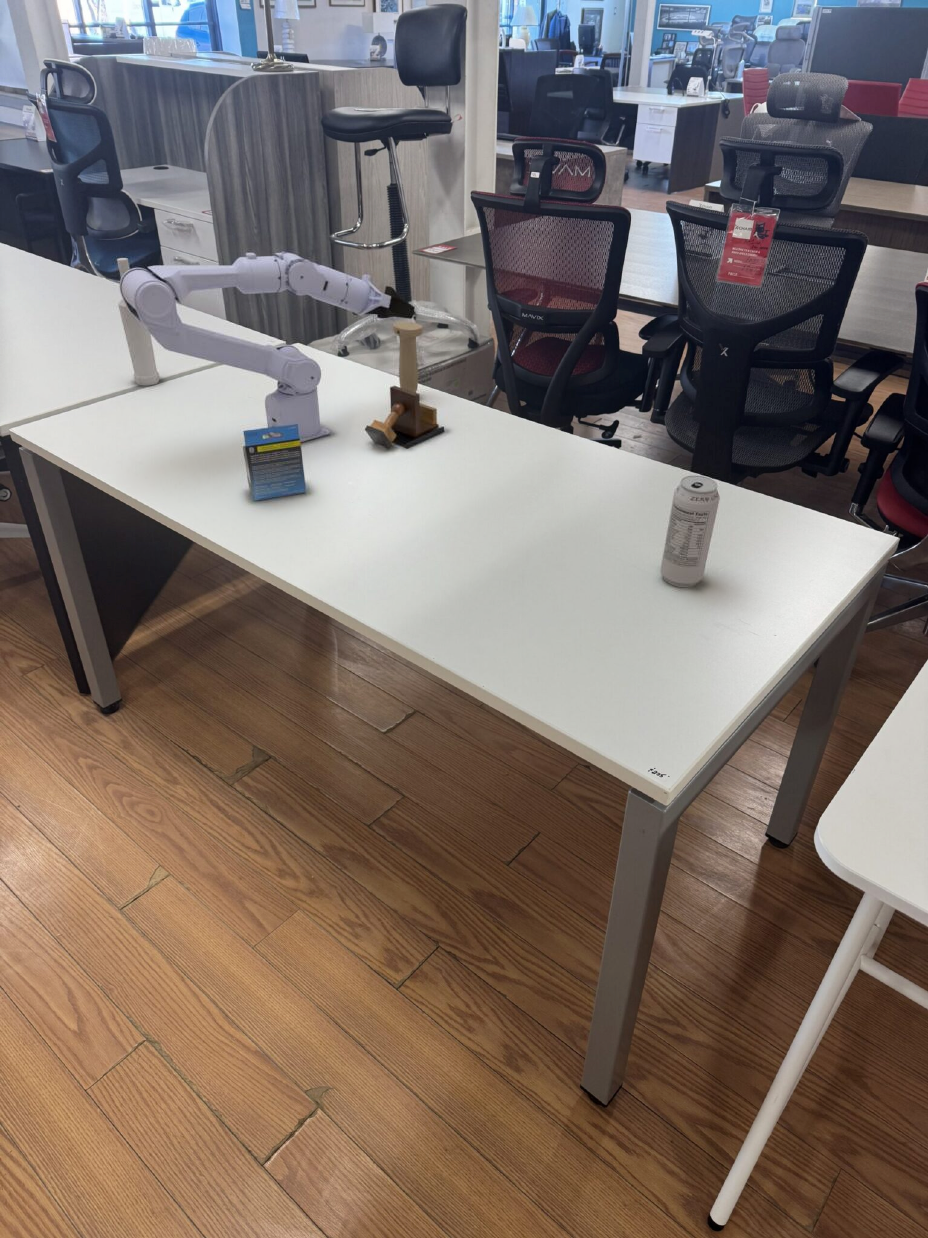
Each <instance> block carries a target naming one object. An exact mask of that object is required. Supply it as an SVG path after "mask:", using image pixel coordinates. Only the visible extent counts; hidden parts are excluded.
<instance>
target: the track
mask: <svg viewBox="0 0 928 1238" xmlns="http://www.w3.org/2000/svg"><path fill="white" fill-rule="evenodd" d="M391 428H392V427H391ZM392 430H393V431H394V433H395V434H396V437H395V439H394V440H393V441H392V444H395V445H396V446H397V445H398V446H400V447H403V448H405V449H410V448H411V447H413V446H416V445H418V444H421V443H422V442H425V441H427V440H430V439H431V438H433V437H436V436H439V435H441V434H443V433H444V432H445V426H441V427H438V428H435V429H433V430H431V431H429V432H426V433H424V434H422V435H420V436H419V437H417V438H415V437H412V436H410V435H407V434H404V433H402V432H399V431H396V430H394V429H392Z"/></svg>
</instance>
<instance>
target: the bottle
mask: <svg viewBox="0 0 928 1238" xmlns="http://www.w3.org/2000/svg"><path fill="white" fill-rule="evenodd" d="M116 262H117V266H118V267H117V268H118V270H119V271H118V272H119V275H120V279H121V278H122V276H123V275H124V273H125V272H127V271H128V270H130V269H131V268H130V263H129V258H127V257H119V258H117V259H116ZM121 298H122V299H120V301H119V302H118V303H117V304H118V306H117V307H118V310H119V315H120V318H121V323H122V327H123V330H124V335H125V340H126V344H127V348H128V352H129V356H130V360H131V364H132V369H133V379H134V381H135V383H136V385H137V386H142V387H149V386H154V385H157V384H158V383H160V373H159V371H158V367H157V363H156V358H155V353H154V346H153V341H152V335H151V334H150V333H149V332H148V331H147V330H146V329H145V327H144V326H143V325H142V324H141V323H140V322H139V321H138V320H137V319H136V318H135V317H134V315H133V314H132V313H131V312H130V311H129V310H128V308H127V306H126V304H125V302H124V300H123V297H121Z"/></svg>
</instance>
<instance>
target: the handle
mask: <svg viewBox="0 0 928 1238" xmlns="http://www.w3.org/2000/svg"><path fill="white" fill-rule="evenodd" d="M391 326H392V327H391V328H392V331H393V333H394V334H395V335H396V336H398V338H399V351H398V353H399V355H398V356H399V357H398V377H399V378H398V380H399V387H400V388H403V389H406V390H409V391H412V392H415V393H417V391H418V387H419V366H418V365H419V364H418V354H417V351H418V350H417V337H419V336H421V335H422V334H423V325H422V324H419V323H417V322H414V321H408V320H400V321H396V322H393V323H392V325H391Z"/></svg>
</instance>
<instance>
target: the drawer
mask: <svg viewBox="0 0 928 1238" xmlns="http://www.w3.org/2000/svg"><path fill="white" fill-rule="evenodd" d="M389 391H390V392H389V394H390V395H389V396H390V413H391V412H392V407H393V406H394V405H395V404H397V403H400V404H402V405H403V406H404V408H405V412H404V414H403V415H402V416H400V417H398V419H397V420H396V422H395V423H394V424H393V426H392V429H394V430H396V431H399V432H402V433H404V434H407V435H410V436H412V437H415V438H417V437H419V436H420V435H422V434H424V433H426V432H429V431H431V430H433V429H435V428H438V427H439V426H440V424H439V423H438V410H437V408H436V407H433V406H430V405H428V404H425V403H421V402H420V401H421V400H420V393H418V392H416V393H415V392H412V391H409V390H406V389H403V388H400V386H398V385H397V386H396V385H392V386H390V387H389ZM439 428H440V427H439Z"/></svg>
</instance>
